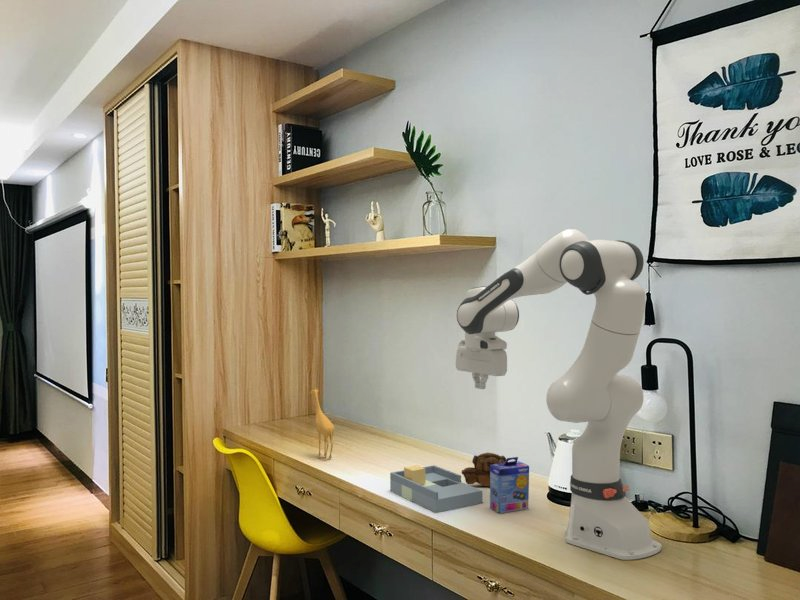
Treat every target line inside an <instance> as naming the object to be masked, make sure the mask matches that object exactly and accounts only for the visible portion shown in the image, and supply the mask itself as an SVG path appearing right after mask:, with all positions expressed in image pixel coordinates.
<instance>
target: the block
mask: <svg viewBox="0 0 800 600" xmlns="http://www.w3.org/2000/svg"><path fill="white" fill-rule="evenodd" d="M423 467H424V466H420V465H418V464H417V465H411V466H405V467H403V470H404V477H405V478H407V479H409V480H412V481H414V482H416V483H418V484H426V483H425V468H423Z"/></svg>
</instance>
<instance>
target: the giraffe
mask: <svg viewBox="0 0 800 600" xmlns="http://www.w3.org/2000/svg"><path fill="white" fill-rule="evenodd" d="M318 392H319V389H318V387H316V388H315V387H314V388H313V389H312V390H310V391H309V394H311V395H313V396H314V402H315V426H316V431H317V434H318V457H320V458H321V434H322V437H323V442H324V455H323V458H324V456H325V458H324V459H326V460H327V457H328V449H329V440H330V453H329V457H328V459H329V458H330V459H332V452H333V447H334V442H333V438H334V434H335V429H336V428H335V426H334V424H333V423H332V421H331V420H330V419H329V418H328V417H327V415H325V414H324V413H323V410H322V409H321V407H320V401H319V395H318ZM328 438H329V439H328ZM324 459H323V460H324Z"/></svg>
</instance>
